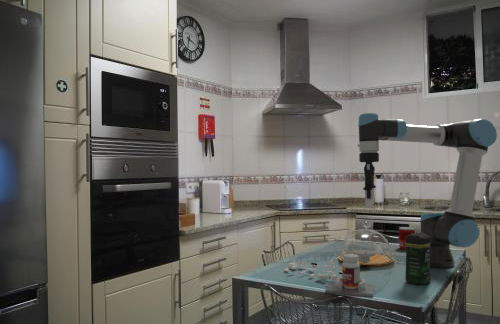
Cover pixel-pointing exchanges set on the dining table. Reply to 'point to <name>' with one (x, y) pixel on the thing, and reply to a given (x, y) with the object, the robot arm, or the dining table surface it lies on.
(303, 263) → the miniature set
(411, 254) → the coffee jar
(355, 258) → the pill bottle
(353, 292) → the grey knobbed plate
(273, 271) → the dining table surface
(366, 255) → the showerhead
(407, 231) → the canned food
